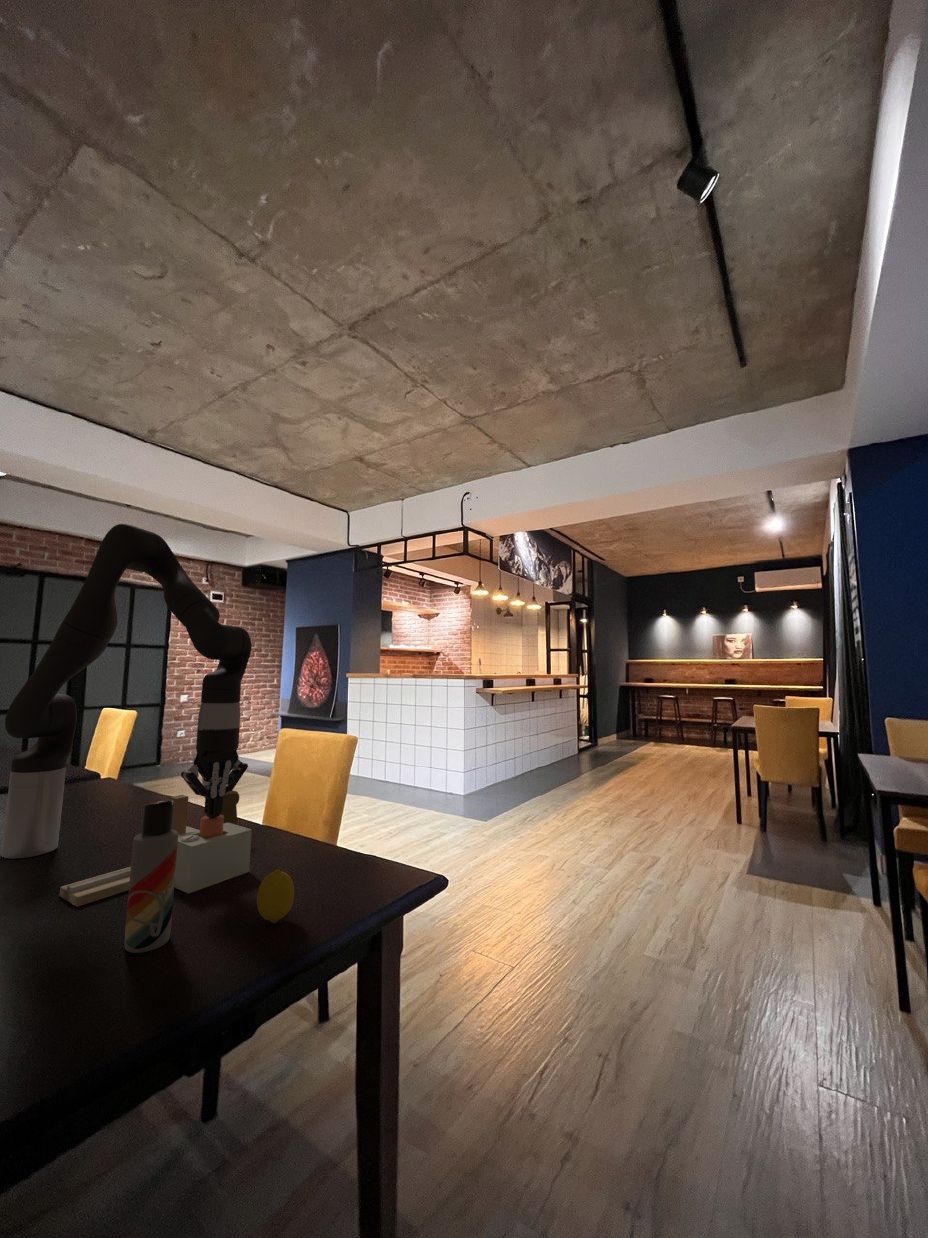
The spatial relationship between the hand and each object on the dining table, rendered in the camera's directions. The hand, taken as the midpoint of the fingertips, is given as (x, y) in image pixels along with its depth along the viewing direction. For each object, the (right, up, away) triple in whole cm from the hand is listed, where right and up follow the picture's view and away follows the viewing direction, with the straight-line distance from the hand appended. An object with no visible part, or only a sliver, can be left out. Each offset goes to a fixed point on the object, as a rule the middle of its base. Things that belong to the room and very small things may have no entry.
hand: (212, 816), depth 96 cm
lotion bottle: (+3, -9, -24) cm, 26 cm away
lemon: (+19, -10, -18) cm, 28 cm away
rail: (-12, -11, -2) cm, 16 cm away
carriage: (-9, -9, +3) cm, 13 cm away
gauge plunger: (0, -6, -1) cm, 6 cm away
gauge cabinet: (0, -11, -1) cm, 11 cm away
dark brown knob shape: (-7, -13, +20) cm, 25 cm away
